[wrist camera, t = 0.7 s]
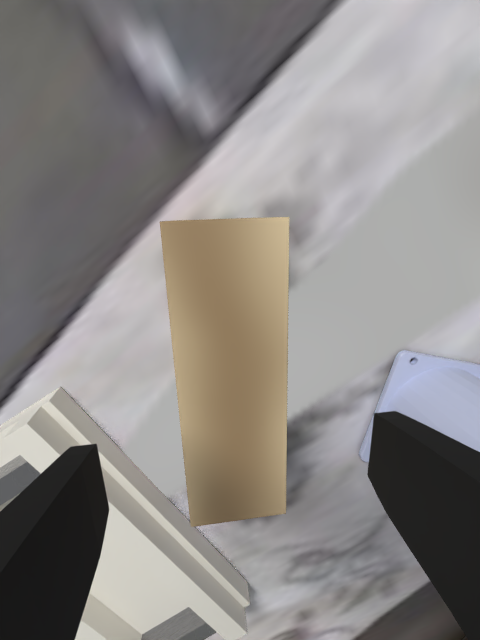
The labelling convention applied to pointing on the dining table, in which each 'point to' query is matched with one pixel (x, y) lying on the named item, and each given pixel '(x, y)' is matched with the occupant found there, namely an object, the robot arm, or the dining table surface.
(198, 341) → the beige rectangular panel
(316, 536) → the dining table surface
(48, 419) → the cream rectangular frame
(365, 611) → the dining table surface
